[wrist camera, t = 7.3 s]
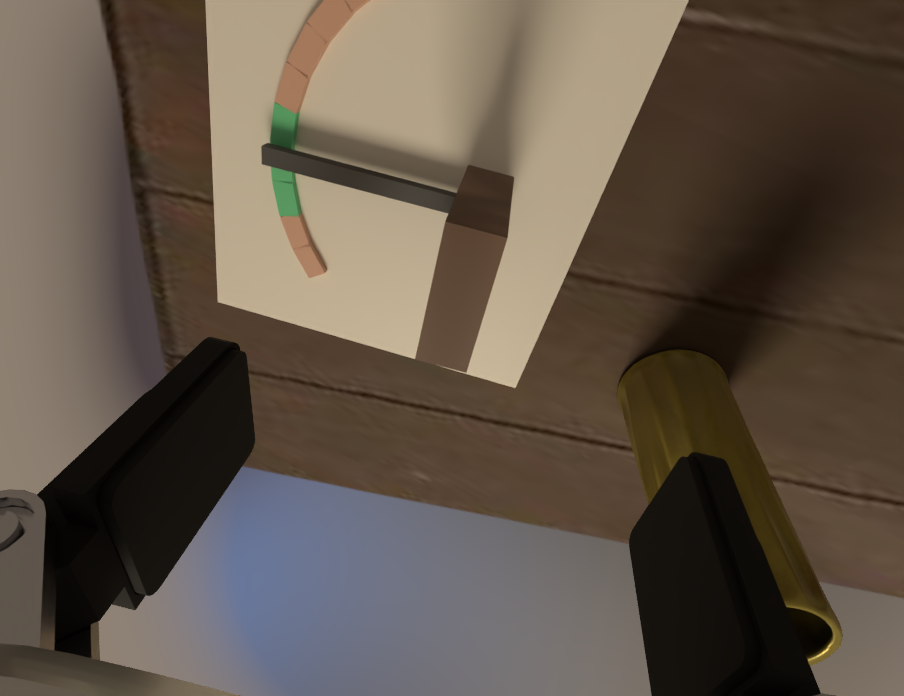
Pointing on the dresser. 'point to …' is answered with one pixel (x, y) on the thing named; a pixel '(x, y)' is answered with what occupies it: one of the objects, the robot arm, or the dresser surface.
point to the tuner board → (417, 150)
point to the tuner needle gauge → (461, 249)
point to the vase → (726, 436)
